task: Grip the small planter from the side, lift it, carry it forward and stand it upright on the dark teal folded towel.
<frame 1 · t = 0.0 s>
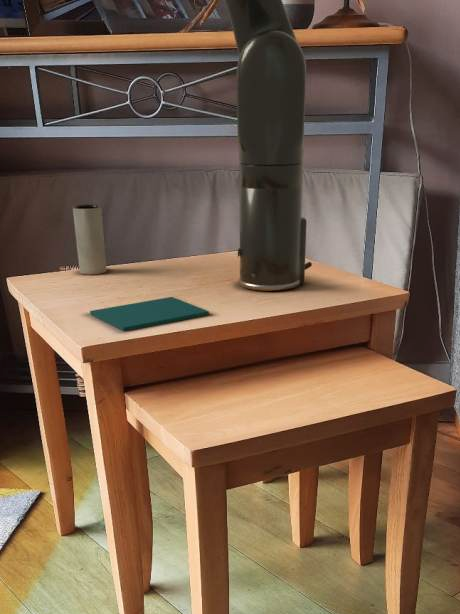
planter: (93, 273, 126), on the table
towel: (149, 314, 102), on the table
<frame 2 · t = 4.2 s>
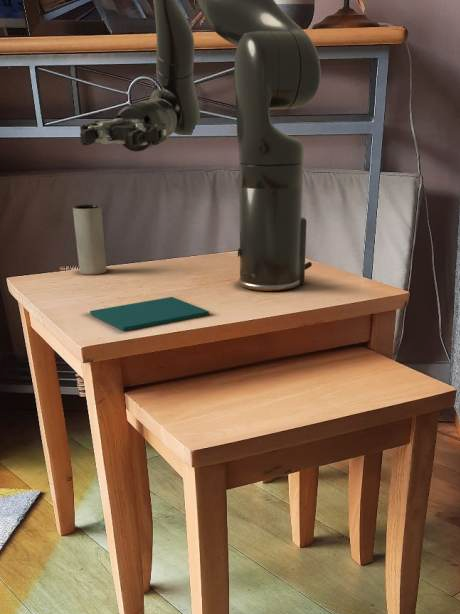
hand: (107, 139, 124), 19 cm above the table, tool horizontal, fingers open, 8 cm apart
nothing on the table moved.
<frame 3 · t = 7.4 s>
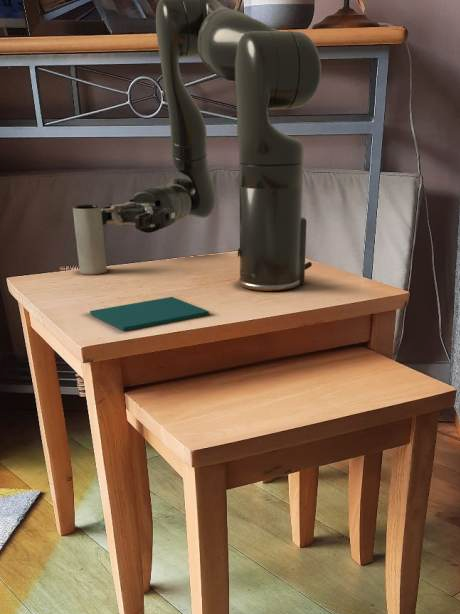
hand: (115, 221, 130), 7 cm above the table, tool horizontal, fingers open, 8 cm apart
nothing on the table moved.
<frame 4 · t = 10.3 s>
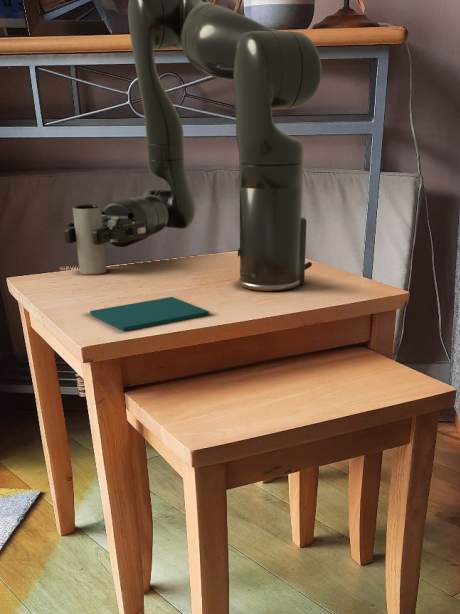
hand: (81, 237, 120), 6 cm above the table, tool horizontal, fingers closed on planter, 4 cm apart
planter: (93, 273, 126), on the table, touching gripper
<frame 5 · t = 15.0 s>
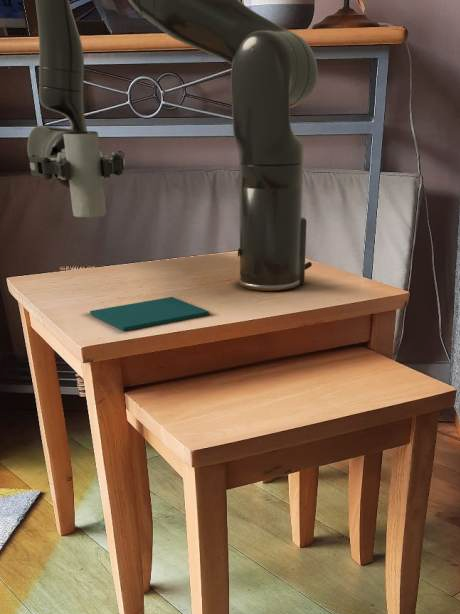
hand: (87, 170, 98), 18 cm above the table, tool horizontal, fingers closed on planter, 4 cm apart
planter: (89, 216, 104), point 11 cm above the table, touching gripper
when the fingers open (6 cm above the table, at t = 20.0 s): planter stays where it is, resting on towel.
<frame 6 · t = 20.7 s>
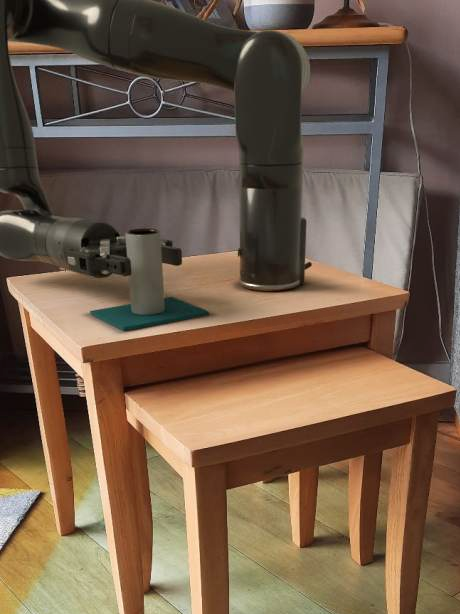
hand: (155, 262, 97), 7 cm above the table, tool horizontal, fingers open, 8 cm apart
planter: (148, 312, 102), resting on towel
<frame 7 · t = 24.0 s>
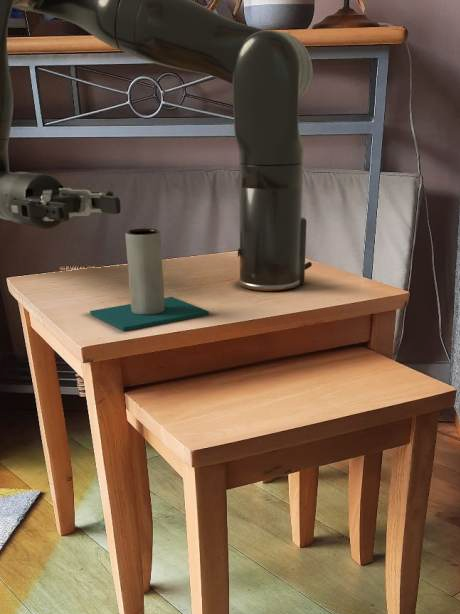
hand: (93, 209, 102), 13 cm above the table, tool horizontal, fingers open, 8 cm apart
nothing on the table moved.
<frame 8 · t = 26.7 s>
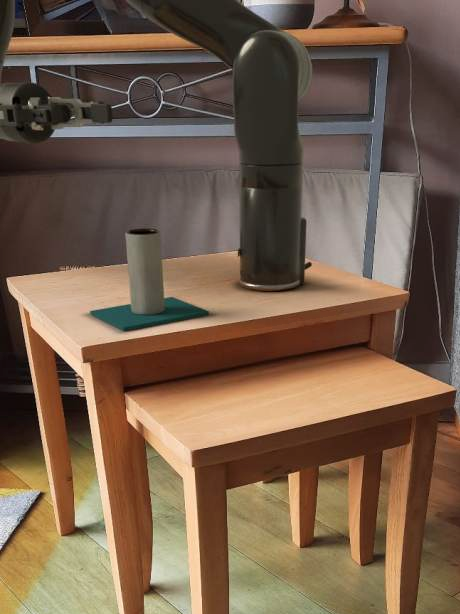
hand: (83, 114, 97), 24 cm above the table, tool horizontal, fingers open, 8 cm apart
nothing on the table moved.
at the end: planter inside the target area on the towel (0.1 cm from its centre), point 0.3 cm above the towel's base; planter tilted 0°; the gripper is holding nothing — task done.
